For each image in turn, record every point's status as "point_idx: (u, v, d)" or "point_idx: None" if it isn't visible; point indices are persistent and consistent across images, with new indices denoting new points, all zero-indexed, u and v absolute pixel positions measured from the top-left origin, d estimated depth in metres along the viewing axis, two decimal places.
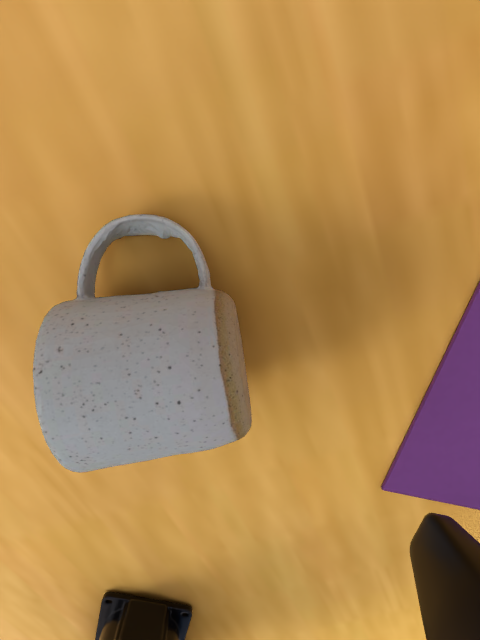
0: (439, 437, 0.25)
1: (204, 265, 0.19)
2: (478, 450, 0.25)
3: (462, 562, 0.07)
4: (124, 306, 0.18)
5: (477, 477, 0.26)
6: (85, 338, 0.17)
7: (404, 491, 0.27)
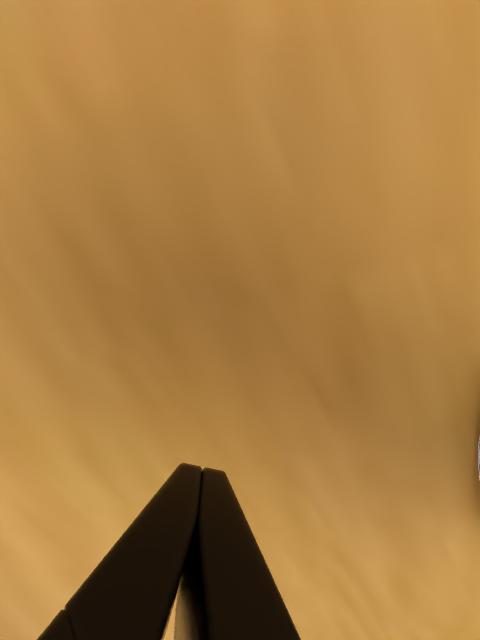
0: None
1: None
2: None
3: (200, 511, 0.07)
4: None
5: None
6: None
7: None
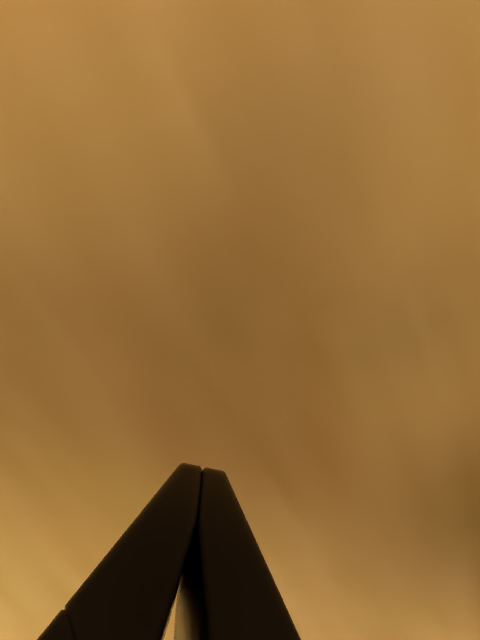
0: None
1: None
2: None
3: (200, 512, 0.07)
4: None
5: None
6: None
7: None
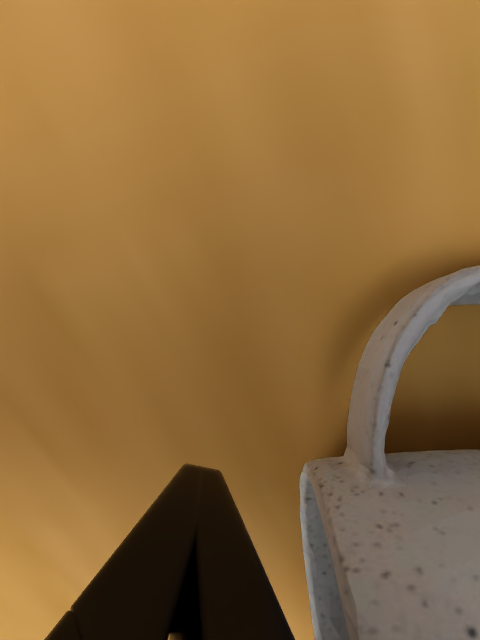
0: None
1: None
2: None
3: None
4: None
5: None
6: None
7: None
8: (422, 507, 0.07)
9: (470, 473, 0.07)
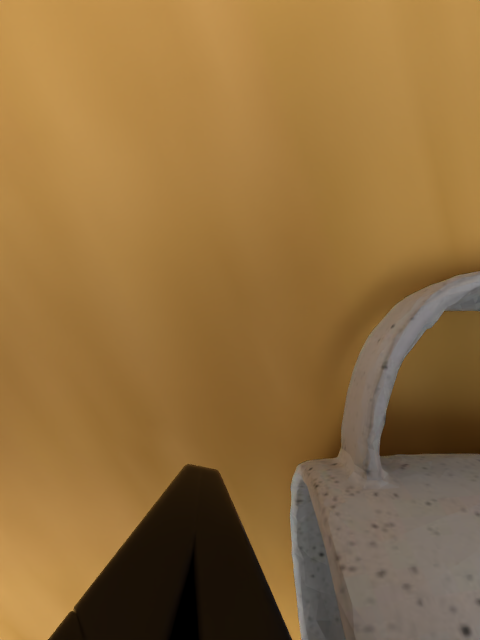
0: None
1: None
2: None
3: None
4: None
5: None
6: None
7: None
8: (416, 508, 0.07)
9: (462, 476, 0.08)
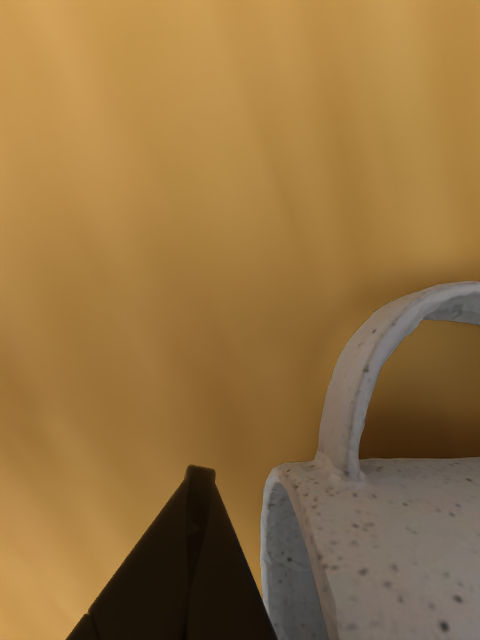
0: None
1: None
2: None
3: (182, 508, 0.07)
4: None
5: None
6: None
7: None
8: (394, 508, 0.07)
9: (435, 478, 0.08)
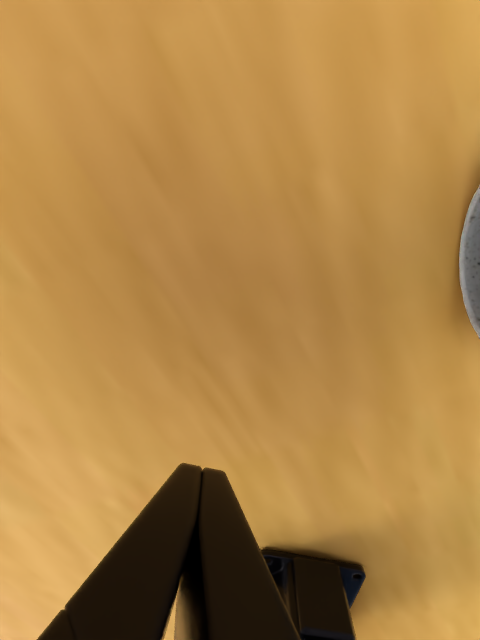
0: None
1: None
2: None
3: (200, 512, 0.07)
4: None
5: None
6: None
7: None
8: None
9: None
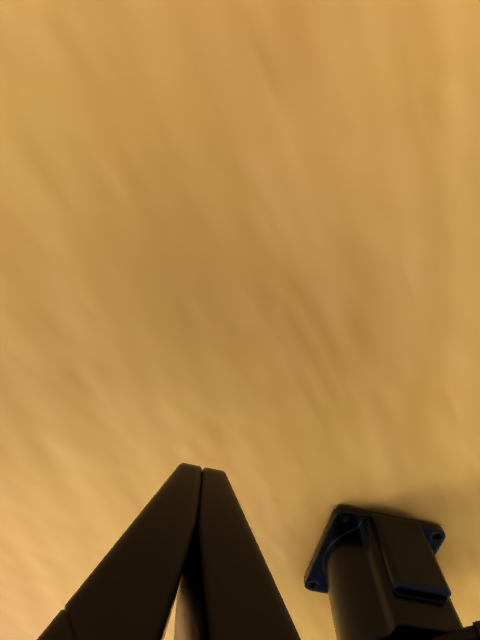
0: None
1: None
2: None
3: (200, 512, 0.07)
4: None
5: None
6: None
7: None
8: None
9: None
